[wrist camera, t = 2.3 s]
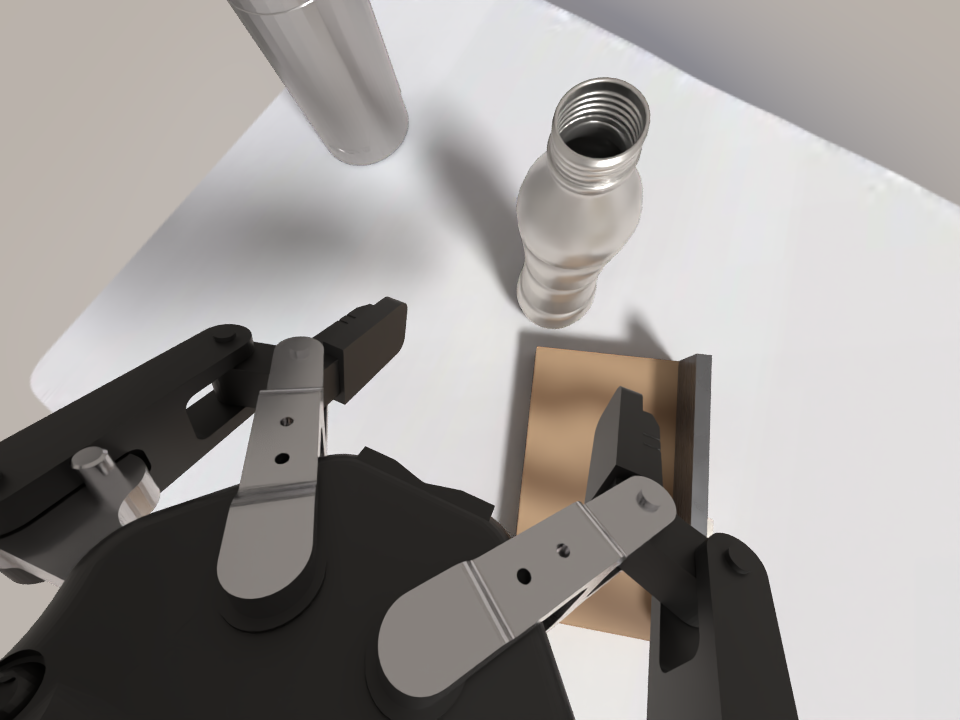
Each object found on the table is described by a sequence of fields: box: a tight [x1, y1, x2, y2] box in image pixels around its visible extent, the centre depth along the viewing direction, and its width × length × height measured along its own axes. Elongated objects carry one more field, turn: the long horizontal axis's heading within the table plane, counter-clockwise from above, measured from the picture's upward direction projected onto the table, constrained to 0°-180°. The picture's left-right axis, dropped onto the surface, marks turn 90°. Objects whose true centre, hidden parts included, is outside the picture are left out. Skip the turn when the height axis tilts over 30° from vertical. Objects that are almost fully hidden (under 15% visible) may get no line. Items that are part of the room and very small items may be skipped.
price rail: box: [673, 354, 713, 538], centre depth 26 cm, size 20×2×3 cm, turn 173°
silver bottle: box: [516, 77, 650, 329], centre depth 24 cm, size 6×7×20 cm
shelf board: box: [516, 346, 678, 641], centre depth 29 cm, size 20×12×2 cm, turn 173°
